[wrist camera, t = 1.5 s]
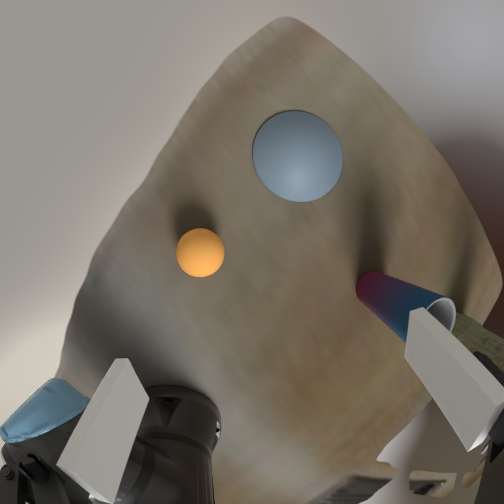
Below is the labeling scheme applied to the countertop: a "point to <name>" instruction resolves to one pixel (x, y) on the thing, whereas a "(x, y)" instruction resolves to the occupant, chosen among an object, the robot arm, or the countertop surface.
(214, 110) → the countertop surface
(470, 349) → the thermos
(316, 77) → the countertop surface
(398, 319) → the cup
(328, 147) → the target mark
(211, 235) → the ball
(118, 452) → the robot arm
